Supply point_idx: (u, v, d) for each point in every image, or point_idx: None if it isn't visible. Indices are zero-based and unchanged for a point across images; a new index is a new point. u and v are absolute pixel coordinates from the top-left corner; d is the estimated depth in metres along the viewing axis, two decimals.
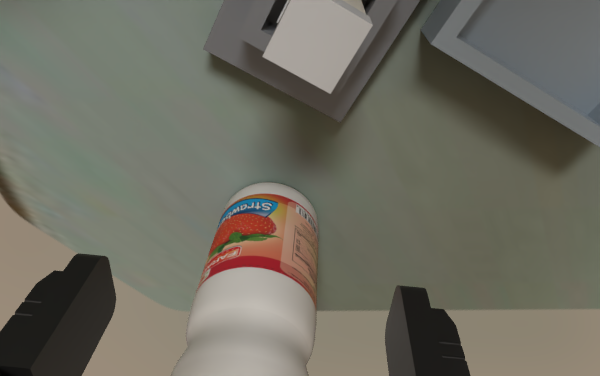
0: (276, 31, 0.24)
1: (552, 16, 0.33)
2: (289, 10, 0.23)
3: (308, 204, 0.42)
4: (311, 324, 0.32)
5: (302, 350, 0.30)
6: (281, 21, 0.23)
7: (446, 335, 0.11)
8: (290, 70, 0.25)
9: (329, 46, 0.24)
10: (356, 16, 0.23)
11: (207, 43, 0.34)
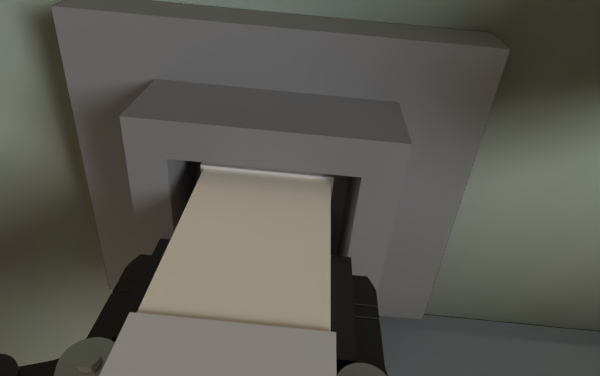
0: None
1: None
2: None
3: None
4: None
5: None
6: None
7: (365, 298, 0.12)
8: None
9: None
10: None
11: (69, 11, 0.14)
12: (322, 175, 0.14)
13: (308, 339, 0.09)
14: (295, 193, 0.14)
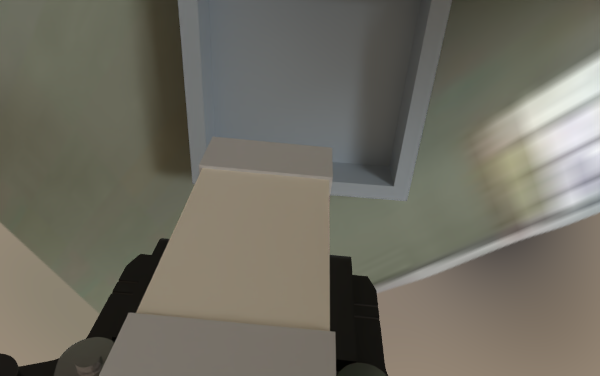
0: None
1: (270, 59, 0.33)
2: None
3: None
4: None
5: None
6: None
7: (365, 298, 0.12)
8: None
9: None
10: None
11: None
12: (321, 175, 0.14)
13: (307, 339, 0.09)
14: (294, 193, 0.14)
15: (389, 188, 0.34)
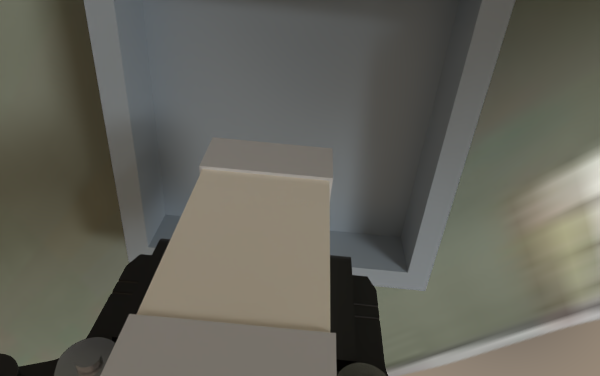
0: None
1: (235, 95, 0.23)
2: None
3: None
4: None
5: None
6: None
7: (365, 298, 0.12)
8: None
9: None
10: None
11: None
12: (321, 176, 0.14)
13: (308, 340, 0.09)
14: (294, 194, 0.14)
15: (401, 274, 0.25)
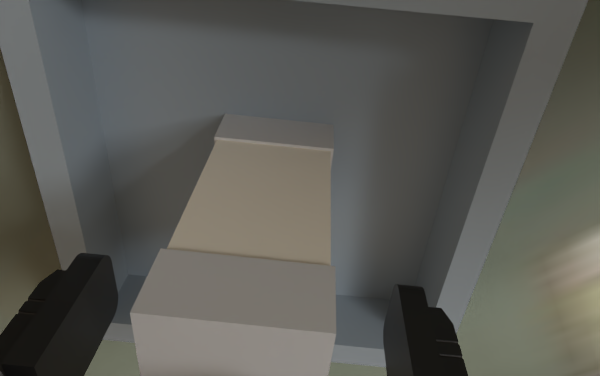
0: (205, 322, 0.09)
1: (208, 139, 0.18)
2: (264, 331, 0.09)
3: None
4: None
5: None
6: (232, 325, 0.09)
7: (443, 333, 0.11)
8: (141, 364, 0.10)
9: None
10: None
11: None
12: (323, 147, 0.16)
13: (312, 271, 0.11)
14: (299, 161, 0.15)
15: None
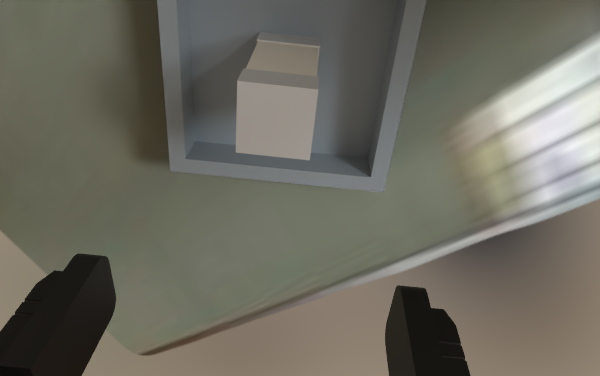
0: (266, 85, 0.24)
1: (249, 47, 0.33)
2: (290, 89, 0.24)
3: None
4: None
5: None
6: (277, 86, 0.24)
7: (446, 335, 0.11)
8: (237, 110, 0.24)
9: (276, 134, 0.25)
10: (310, 145, 0.25)
11: None
12: (314, 45, 0.30)
13: (308, 77, 0.25)
14: (302, 49, 0.30)
15: (366, 179, 0.35)
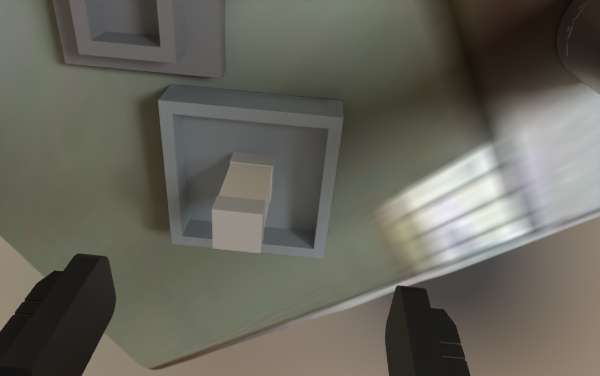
0: (230, 211, 0.38)
1: (226, 161, 0.47)
2: (245, 214, 0.38)
3: None
4: None
5: None
6: (237, 212, 0.38)
7: (446, 335, 0.11)
8: (212, 225, 0.38)
9: (238, 238, 0.39)
10: (260, 244, 0.39)
11: None
12: (269, 165, 0.44)
13: (258, 201, 0.39)
14: (259, 170, 0.44)
15: (311, 250, 0.48)
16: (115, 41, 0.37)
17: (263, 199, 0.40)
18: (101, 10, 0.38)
